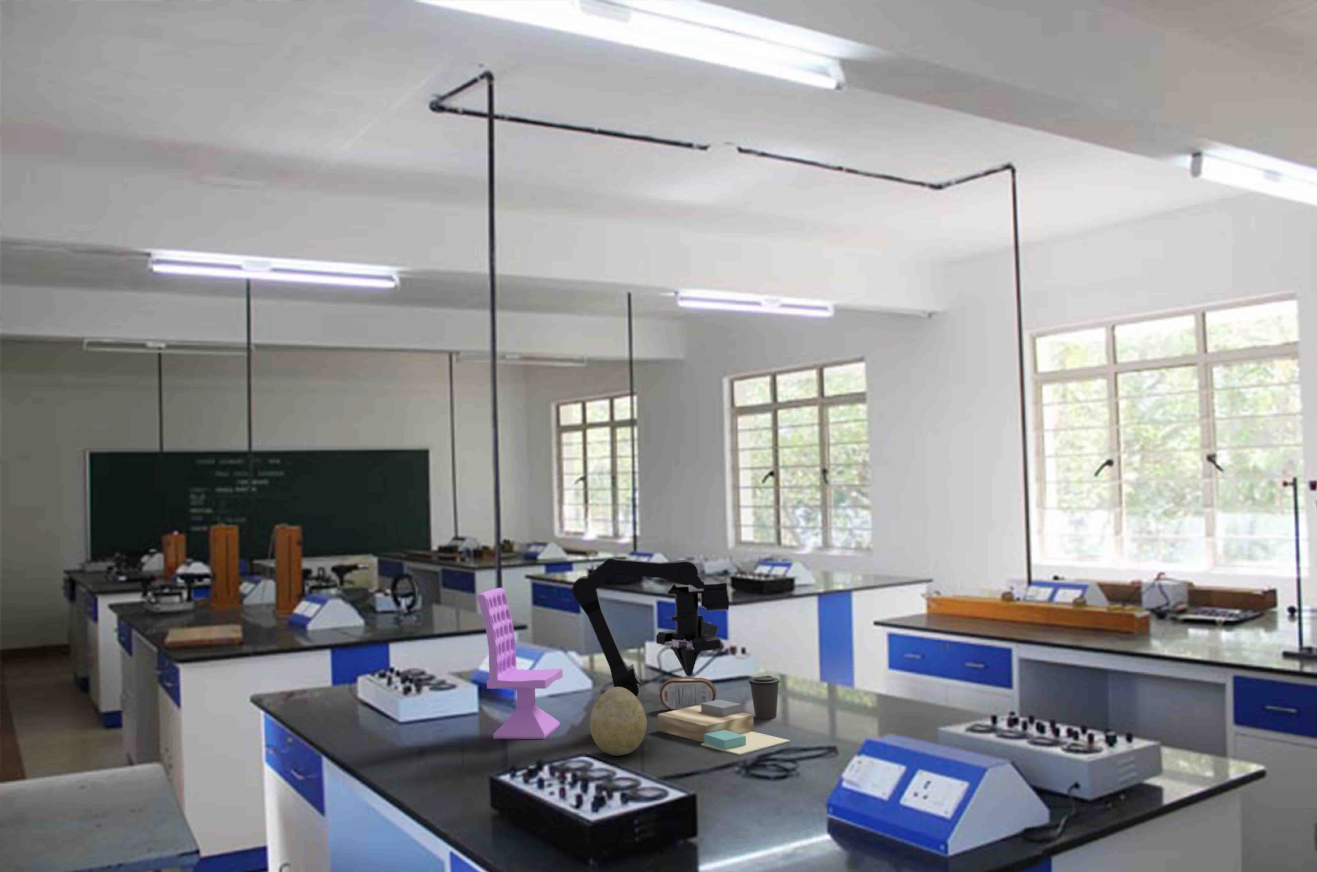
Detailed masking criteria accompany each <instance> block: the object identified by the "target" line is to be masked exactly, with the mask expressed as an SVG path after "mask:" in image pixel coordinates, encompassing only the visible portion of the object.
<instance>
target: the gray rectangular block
mask: <svg viewBox="0 0 1317 872" xmlns="http://www.w3.org/2000/svg"><path fill="white" fill-rule="evenodd" d="M742 710H743V709H742V703H738V702H735V701H733V702H732V701H728V700H723V699H715V700H714V701H710V702H705V703H701V712H705V713H710V714H714V715H719V716H723V717H724V716H728V715H732V714H737V713H741V712H742ZM742 713H743V712H742Z"/></svg>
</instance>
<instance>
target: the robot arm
mask: <svg viewBox="0 0 1317 872" xmlns="http://www.w3.org/2000/svg"><path fill="white" fill-rule="evenodd" d="M613 575H619V576H629V577H631V576H632V577H643V578H655V579H656V578H657V579H662V580H665V581H668V582H672V585H671V587H669V589H667V591H666V592H667V594H668V595H674V606H675V607H674V608H675V610H674V611H675V615H672V616H671V621H674V622H675V629H669V630H663V631H658V633H657V634H656V636H655V638H656V640H655V642H656V644H658V645H665V644H666V643H669V642H672V646H670V650H672V651H673V653H674V655H675V656H676V658H677V660H678V662H679V663H680V666H681V668H682V670H683V671H684V674H685V675H686V676H687V677H691V676H692V675H693V672H694V669H695V665H696V663H697V659H698V657H699V655H700V654H701V652H707V651H713V650H717V649H718V650H719V649H722V646H721V645H722V640H721V639H720V638H719V636H717V634H718V630H719V626H718V625H715V624H713V623H709V622H707V621H706V622H705V621H704V616H703V615H701V614H699V597H700V607H701V608H703V609H705V612H717V611H729V609H730V598H729V596H728V595H729V594H728V584H727V582H718V583H705V582H704V580H703V579H701V578H700V577H699V576H698V575H699V572H698V568H697V566H696V564H694V563H693V562H692V561H691V560H689V559H682V560H681V559H680V560H672V561H671V560H670V561H662V562H656V561H647V560H645V561H643V560H636V559H635V560H634V559H621V558H615V557H607V558H606V559H605V560H604V561H603V562H602V563H601V564H600V565H599V566H597V567H596V568H595V569H594V570H592V571H591V572H590V573H589V574H588V575H582V576H579V577H577V579H576V580H575V581H574V583H573V585H572V589H571V592H572V595H573V597H574V598H575V600H576V602H577V603H578V605H579V606H580V607H581V609H582V611H584V614H586V615H587V618H588V619H589V620H588V621H589V622H590V624H591V627H592V630H593V631H594V633H595V636H596V638H597V641H598V643H599V645H600V648H601V650H602V653H603V654H604V657H605V659H606V662H607V664H608V667H609V669H610V674H611V679H612V680H611V681H612V684H613V687H623V688H626V689H627V690H629V691H631V692H632V693H633V694H634V695H635V696H636V697H637V698H638V695H639V693H640V690H639V689H640V687H639V686H640V684H641V680H640V677H639V676H638V675H637V673H636V669H635V666H634V663H632V664H630V665H628V664H627V663H626V662H625V659H624V658H623V656H622V653H621V651H620V649H619V647H618V644H617V642H616V639H615V637H614V635H613V633H612V630H611V627H610V625H609V623H608V621H607V619H606V616H605V613H604V610H603V608H602V604H601V599H600V595H599V591H598V588H600V587H601V586H602V585H603V584H604V583H606V581H608V579H609V578H611V577H612V576H613ZM675 583H676V584H679V585H682V586H677V585H676V584H675ZM689 585H690V586H692V587H694V588H695V589H690V587H689ZM699 594H700V596H699Z"/></svg>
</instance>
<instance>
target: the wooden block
mask: <svg viewBox="0 0 1317 872" xmlns="http://www.w3.org/2000/svg"><path fill="white" fill-rule="evenodd" d="M754 728H755V727H754V714H751V713H746V712H741V713H737V714H732V715H728V716H724V717H723V716H719V715H714V714H710V713H705V712H701V705H697V706H693V707H688V708H683V709H679V710H674V711H673V710H669V711H667V712H666V711H665V712H660V713H658V714H657V731H658V732H661V733H666V734H669V735H674V736H677V737H681V738H685V739H689V740H693V741H697V742H701V743H704V734H706V733H711V732H716V731H721V730H727V731H731V732H734V733H737V734H742V733H746V732H750V731H752V732H755V731H754V730H755V729H754Z"/></svg>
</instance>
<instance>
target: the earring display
mask: <svg viewBox="0 0 1317 872" xmlns="http://www.w3.org/2000/svg"><path fill="white" fill-rule="evenodd" d="M476 598H477V601H478V605H479V608H480V611H481V615H482V618H483V623H484V627H485V631H486V632H485V633H486V638H487V639H486V640H487V645H488V646H487V647H488V669H489V673H488V674H489V676H488V679H486V689H491V690H492V689H494V690H495V689H496V690H497V689H507V690H508V689H509V690H516V707H517V708H516V710H515V711H514V712H513V713H512V714H511V715H510V716H509V717H508V718H507V719H506V720H505V721H504V722H503V723H502V724H501V725H500V727H498V728H497V730H496V731H494V733H493V734H492V735H493V739H494V740H497V739H499V740H501V739H502V740H509V739H510V740H512V739H513V740H524V739H525V740H545V739H547V738H548V737H549V736H550V735H551V734H552V733H554V732H555V731H556V730H557V729H558V728H560V727H559V726H561V725H560V724H561V723H560V721H559V720H557V718H554V717H553V716H552V715H550V714H548V713H547V712H546V711H544V710H543V709H541V708H539V707H538V706H537V705H536V689H537V690H538V689H539V690H540V689H543V690H544V689H547V688H549V687H550V686H551V685H552V684H553V683H554V682H555V681H557V680H561V679H562V678H563V668H549V669H522V668H521V669H520V668H518V669H517V653H516V652H517V650H516V637H515V636H516V635H515V629H514V624H513V617H512V614H511V609H510V606H509V602H508V597H507V594H506V591H505V589H504V588H503V587H496V588H494V589H489V590H486V591H483V592H481V593H478V594H477V597H476Z"/></svg>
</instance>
